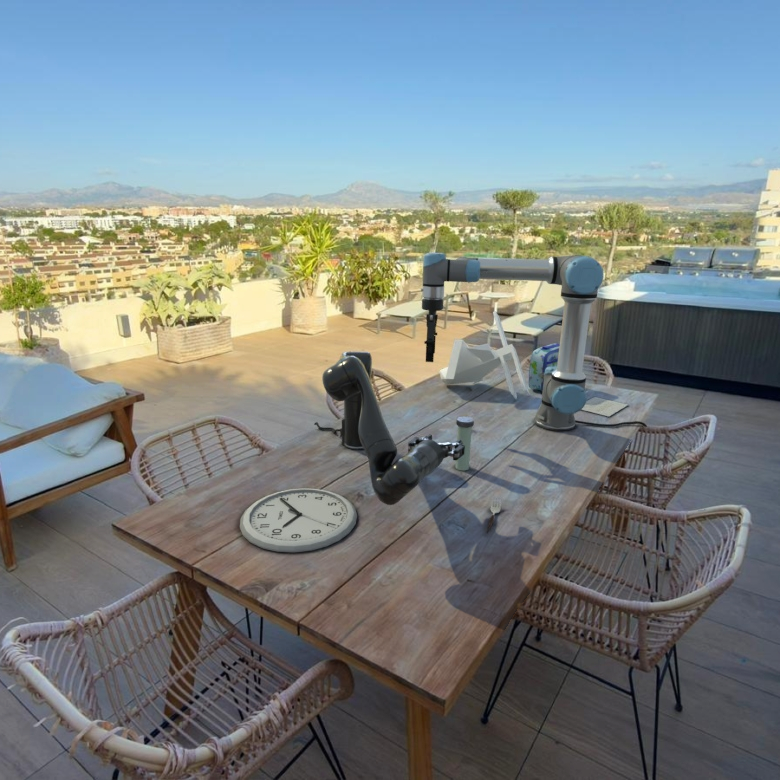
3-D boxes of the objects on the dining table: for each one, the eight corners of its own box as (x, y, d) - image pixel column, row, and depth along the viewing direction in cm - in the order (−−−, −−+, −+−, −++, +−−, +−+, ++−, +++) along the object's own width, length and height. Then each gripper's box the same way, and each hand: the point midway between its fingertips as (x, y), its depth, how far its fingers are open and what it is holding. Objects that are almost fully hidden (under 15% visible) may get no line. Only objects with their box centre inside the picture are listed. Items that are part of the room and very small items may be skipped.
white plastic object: (461, 429, 252) (437, 405, 227) (444, 352, 274) (420, 323, 250) (535, 404, 240) (518, 377, 215) (510, 326, 262) (492, 293, 237)
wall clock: (358, 544, 122) (227, 548, 120) (358, 550, 123) (228, 554, 120) (355, 484, 151) (250, 486, 148) (355, 489, 151) (250, 491, 149)
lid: (474, 422, 164) (475, 417, 163) (471, 428, 159) (472, 423, 159) (458, 420, 165) (458, 415, 165) (454, 426, 161) (454, 421, 160)
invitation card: (608, 416, 214) (573, 407, 224) (608, 416, 214) (573, 408, 224) (628, 404, 229) (594, 396, 238) (628, 405, 229) (594, 397, 238)
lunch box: (544, 395, 239) (549, 351, 233) (524, 390, 247) (528, 347, 240) (571, 384, 257) (577, 343, 251) (552, 380, 264) (556, 339, 258)
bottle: (470, 466, 168) (473, 419, 163) (467, 471, 164) (470, 424, 159) (457, 463, 169) (459, 417, 164) (454, 469, 165) (456, 422, 161)
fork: (481, 533, 130) (482, 526, 130) (492, 503, 145) (493, 497, 144) (492, 535, 130) (492, 528, 129) (501, 505, 144) (502, 499, 143)
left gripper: (451, 449, 126) (470, 431, 140) (397, 440, 132) (421, 423, 146) (450, 478, 128) (469, 457, 142) (397, 468, 134) (420, 448, 148)
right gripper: (424, 293, 195) (422, 349, 202) (419, 302, 172) (417, 365, 178) (444, 294, 195) (441, 350, 201) (442, 303, 171) (439, 366, 177)
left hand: (445, 440), depth 144 cm, fingers open, 8 cm apart
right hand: (430, 357), depth 190 cm, fingers open, 13 cm apart
